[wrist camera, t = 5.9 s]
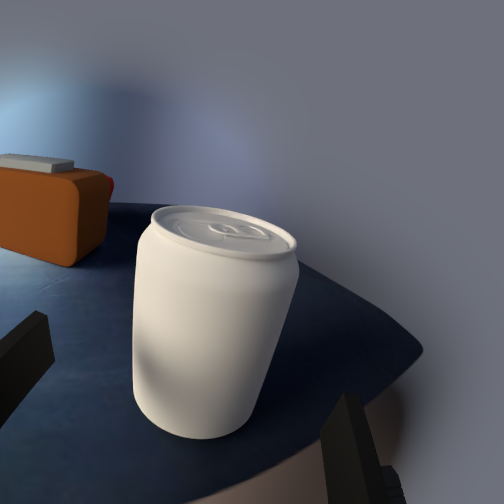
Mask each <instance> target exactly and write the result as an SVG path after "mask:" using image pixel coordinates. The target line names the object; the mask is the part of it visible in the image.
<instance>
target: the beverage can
mask: <svg viewBox="0 0 504 504" xmlns="http://www.w3.org/2000/svg"><path fill="white" fill-rule="evenodd" d="M296 247H297V242H296V240H295V238H294V237H293V236H292V235H290V234H289V233H288V232H287V231H285V230H283V229H281V228H280V227H278V226H276V225H274V224H271V223H269V222H266V221H264V220H261V219H258V218H255V217H252V216H249V215H245V214H242V213H238V212H233V211H229V210H223V209H218V208H212V207H204V206H189V205H179V206H168V207H163V208H160V209H158V210H156V211H155V212H154V213H153V214H152V217H151V224H150V225H149V226H148V227H147V228H146V230H145V231H144V232H143V234H142V235H141V237H140V240H139V243H138V250H137V261H136V273H135V289H134V309H133V390H134V396H135V399H136V402H137V404H138V406H139V408H140V409H141V411H142V412H143V413H144V414H145V416H146V417H147V418H148V419H149V420H151V421H152V422H153V423H154V424H156V425H157V426H159V427H160V428H162V429H164V430H166V431H168V432H170V433H172V434H175V435H178V436H182V437H186V438H192V439H211V438H217V437H221V436H224V435H227V434H230V433H232V432H234V431H235V430H237V429H239V428H240V427H241V426H242V425H243V424H245V422H246V421H247V420H248V419H249V417H250V416H251V414H252V411H253V409H254V406H255V403H256V401H257V398H258V395H259V393H260V390H261V387H262V384H263V382H264V379H265V376H266V373H267V371H268V368H269V365H270V362H271V359H272V356H273V354H274V351H275V348H276V345H277V342H278V339H279V336H280V333H281V330H282V327H283V324H284V321H285V318H286V315H287V312H288V309H289V306H290V303H291V299H292V296H293V293H294V290H295V287H296V284H297V280H298V277H299V265H298V261H297V259H296V256H295V253H294V252H295V250H296Z"/></svg>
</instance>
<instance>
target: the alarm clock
mask: <svg viewBox="0 0 504 504" xmlns="http://www.w3.org/2000/svg"><path fill="white" fill-rule="evenodd" d="M109 197H110V182H109V179H108V177H107V176H106V175H105V174H104V173H102V172H99V171H93V170H86V169H79V168H74V161H73V160H68V159H59V158H50V157H40V156H30V155H19V154H2V155H0V247H3V248H6V249H9V250H12V251H15V252H18V253H21V254H24V255H27V256H31V257H34V258H37V259H40V260H44V261H47V262H50V263H54V264H57V265H60V266H67V267H70V266H72V265H74V264H76V263H77V262H78V261H79V260H81V259H82V258H83V257H85V256H86V255H87V254H89V253H90V252H91V251H93V250H94V249H95V248H97V247H98V246H99V245H101V244H102V242H103V241H104V240H105V236H106V229H107V217H108V207H109Z"/></svg>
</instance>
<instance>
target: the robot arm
mask: <svg viewBox="0 0 504 504" xmlns="http://www.w3.org/2000/svg"><path fill="white" fill-rule="evenodd" d="M54 362H55V357H54V353H53V347H52V342H51V336H50V330H49V324H48V317H47V315H45V314H43V313H40V312H38V311H36V310H35V311H34V312H33V313H32V314H30V315H29V316H28V317H27V318H26V319H24V320H23V321H22V322H21V323H20V324H18V325H17V326H16V327H15V328H14V329H13V330H11V331H10V332H9V333H8V334H7V335H6V336H5V337H3V338H2V339H1V340H0V428H1V427H2V426H3V424H4V423H5V422H6V421H7V419H8V418H9V417H10V415H11V414H12V413H13V412H14V410H15V409H16V408H17V406H18V405H19V404H20V403H21V401H22V400H23V399H24V398H25V396H26V395H27V394H28V393H29V392H30V390H31V389H32V388H33V387H34V386H35V384H36V383H37V382H38V381H39V380H40V378H41V377H42V376H43V375H44V374H45V372H46V371H47V370H48V369H49V368H50V367H51V365H52V364H53V363H54ZM319 432H320V440H321V447H322V454H323V462H324V469H325V478H326V486H327V495H328V503H329V504H406V501H405V497H404V496H403V495H404V493H403V490H402V488H401V483H400V480H399V476H398V474H397V473H396V471H395V470H394V469H393V468H392V466H391V465H389V466H380V464H379V460H378V457H377V453H376V449H375V446H374V442H373V439H372V435H371V432H370V428H369V425H368V422H367V418H366V415H365V412H364V409H363V405H362V402H361V399H360V396H359V394H349V393H343V394H342V396H341V397H340V399H339V401H338V402H337V404H336V406H335V407H334V409H333V411H332V412H331V414H330V416H329V417H328V419H327V420H326V422H325V424H324V425H323V427H322V428H321V430H320V431H319Z"/></svg>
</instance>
